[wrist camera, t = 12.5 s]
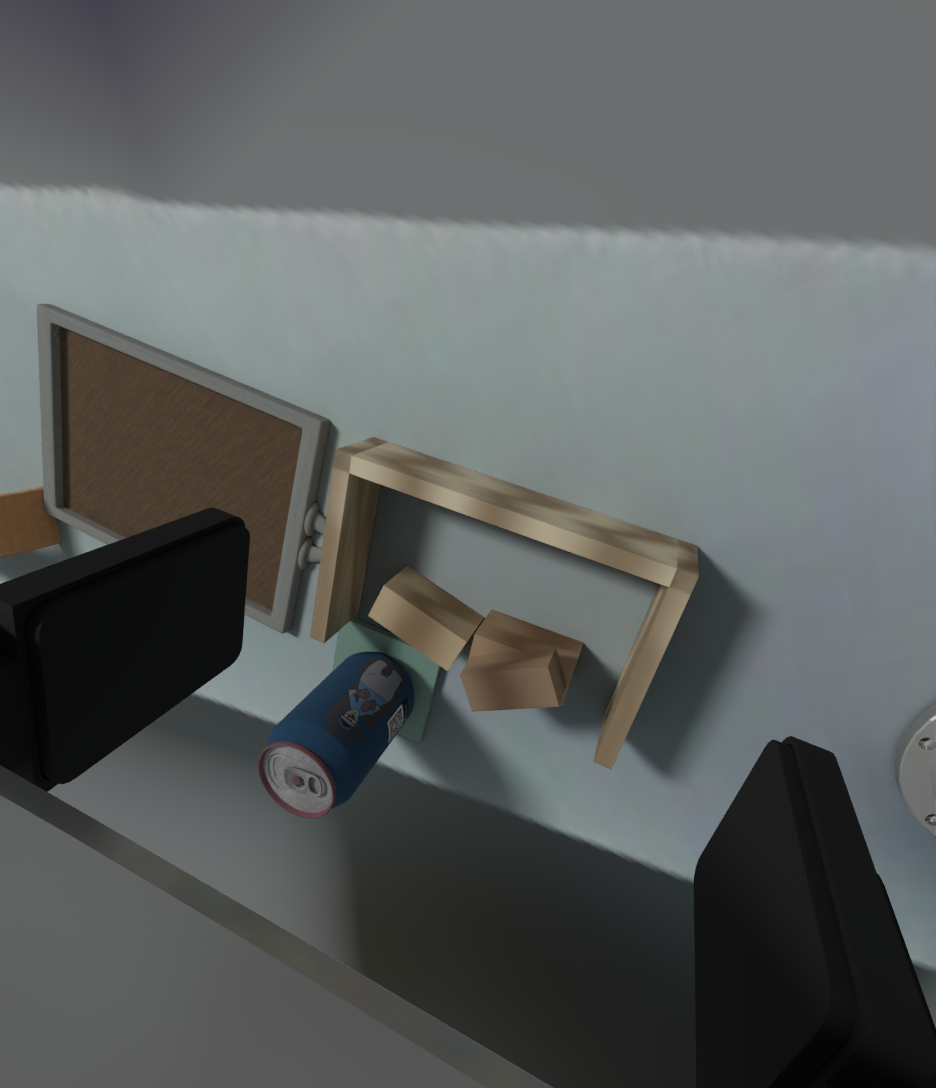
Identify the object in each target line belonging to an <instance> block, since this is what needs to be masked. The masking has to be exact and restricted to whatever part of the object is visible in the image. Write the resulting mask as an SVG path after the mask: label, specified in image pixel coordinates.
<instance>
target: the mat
mask: <svg viewBox="0 0 936 1088" xmlns="http://www.w3.org/2000/svg"><path fill="white" fill-rule="evenodd" d="M359 652H382V653H385V654H388V655H390V656H392V657H394V658H395V659H397V660H398V661H399V662H400V663H401V664H402V665H403V666H404V667H405V668H406V670H407V671H408V673H409V674H410V677H411V679H412V683H413V688H414V707H413V710H412V713H411V715H410V716H409V718H408V719H407V721H406V722H405V723H404V725H403V726H402V727H401V729H400V730H399V732H398V733H397V734H398V735H400V736H402V737H404V738H406V739H408V740H410V741H413V742H415V743H417V744H420V743H421V741H422V738H423V735H424V731H425V727H426V723H427V719H428V715H429V711H430V707H431V703H432V700H433V696H434V692H435V688H436V684H437V680H438V676H439V672H440V668H441V666H439V665H438V664H437V663H435V662H434V661H432V660H431V659H429V658H428V657H427V656H425V655H424V654H422V653H421V652H419V651H418V650H416V649H415V648H414V647H412V646H411V645H409V644H408V643H406V642H405V641H404V640H402V639H401V638H399V637H398V636H396V635H395V634H392V633H390V632H388V631H385V630H383V629H380V628H378V627H376V626H373V625H371V624H369V623H366V622H364V621H361V620H359V619H357V618H353V619H352V620H351V621H349V622H348V623H347V624H346V625H345V626H344V627H342V628H341V629H340V630H339V633H338V639H337V645H336V652H335V658H334V664H333V670H332V672H333V671H334V670H335V669H336V668H337V667H338V666H339V665H340V664H341V663H342V662H343V661H344V660H345V659H346V658H348V657H349V656H351V655H353V654H355V653H359Z"/></svg>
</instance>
